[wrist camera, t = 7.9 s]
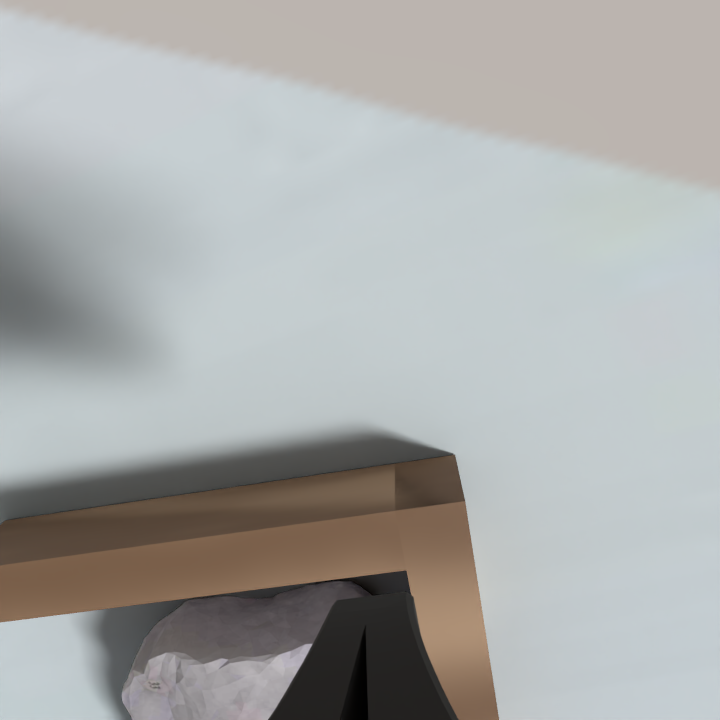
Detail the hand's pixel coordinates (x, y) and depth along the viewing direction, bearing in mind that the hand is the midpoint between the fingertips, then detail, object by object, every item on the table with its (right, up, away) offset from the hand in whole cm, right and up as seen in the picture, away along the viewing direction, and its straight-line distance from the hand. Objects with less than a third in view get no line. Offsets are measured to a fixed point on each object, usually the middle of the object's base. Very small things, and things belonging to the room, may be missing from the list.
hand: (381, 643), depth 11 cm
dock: (-4, -7, +13) cm, 15 cm away
